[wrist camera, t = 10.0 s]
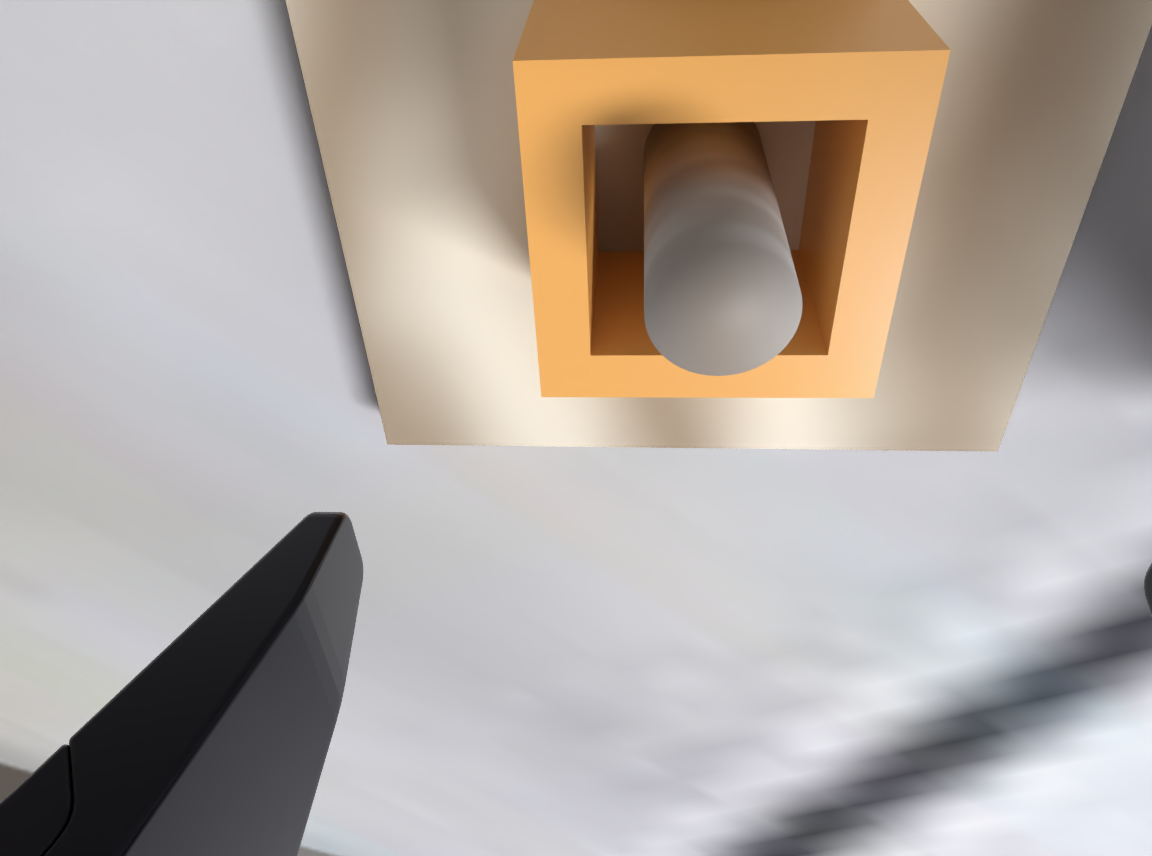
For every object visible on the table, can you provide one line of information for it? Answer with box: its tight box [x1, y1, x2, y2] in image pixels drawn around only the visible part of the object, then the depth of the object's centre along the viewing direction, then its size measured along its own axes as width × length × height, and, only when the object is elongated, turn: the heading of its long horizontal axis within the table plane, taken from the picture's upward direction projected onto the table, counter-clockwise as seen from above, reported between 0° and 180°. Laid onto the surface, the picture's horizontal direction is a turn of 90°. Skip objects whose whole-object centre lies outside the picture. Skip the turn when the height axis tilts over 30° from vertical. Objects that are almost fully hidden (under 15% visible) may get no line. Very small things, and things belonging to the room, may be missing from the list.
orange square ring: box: [513, 0, 950, 398], centre depth 17 cm, size 6×6×4 cm
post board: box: [286, 0, 1152, 451], centre depth 16 cm, size 16×16×7 cm
